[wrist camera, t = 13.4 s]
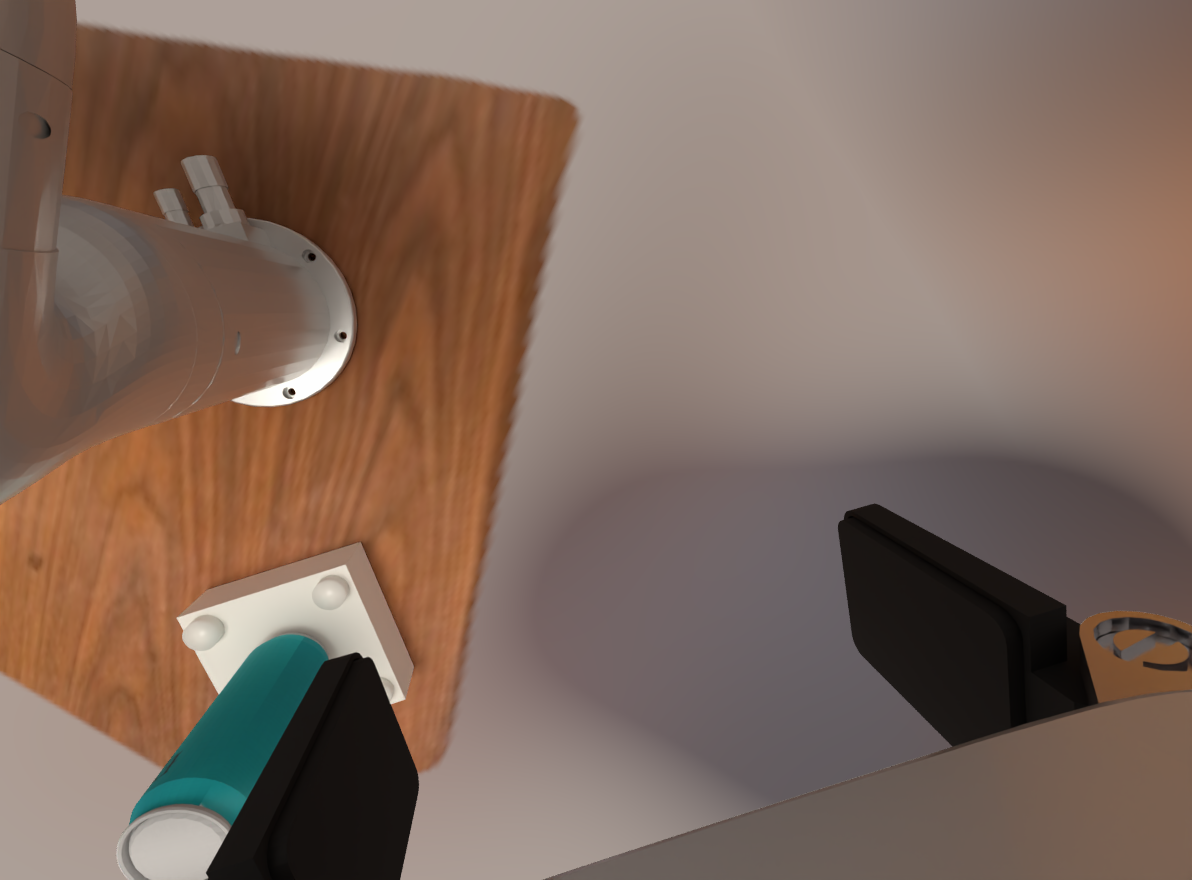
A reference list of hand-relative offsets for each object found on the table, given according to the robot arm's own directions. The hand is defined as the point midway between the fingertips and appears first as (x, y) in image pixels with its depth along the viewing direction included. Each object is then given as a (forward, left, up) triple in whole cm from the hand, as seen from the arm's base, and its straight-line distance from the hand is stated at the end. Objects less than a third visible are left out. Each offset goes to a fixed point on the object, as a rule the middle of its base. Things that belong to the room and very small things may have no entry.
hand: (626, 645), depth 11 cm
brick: (+13, -23, -33) cm, 43 cm away
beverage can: (+13, -23, -30) cm, 40 cm away
